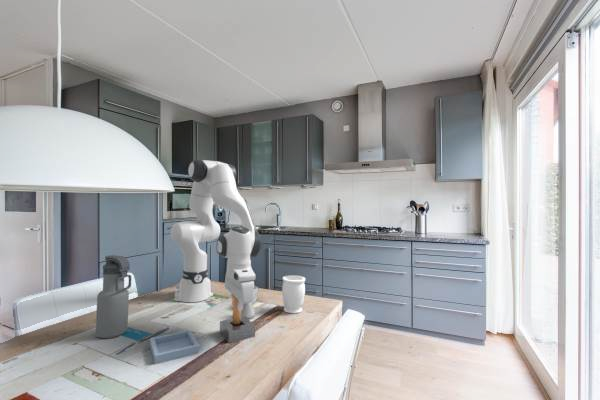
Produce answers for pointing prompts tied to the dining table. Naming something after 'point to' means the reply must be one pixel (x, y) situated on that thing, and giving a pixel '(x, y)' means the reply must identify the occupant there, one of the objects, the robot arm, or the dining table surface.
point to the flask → (248, 310)
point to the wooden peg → (236, 311)
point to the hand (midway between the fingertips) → (237, 307)
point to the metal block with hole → (237, 329)
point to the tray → (173, 346)
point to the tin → (255, 294)
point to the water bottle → (113, 298)
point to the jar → (293, 293)
